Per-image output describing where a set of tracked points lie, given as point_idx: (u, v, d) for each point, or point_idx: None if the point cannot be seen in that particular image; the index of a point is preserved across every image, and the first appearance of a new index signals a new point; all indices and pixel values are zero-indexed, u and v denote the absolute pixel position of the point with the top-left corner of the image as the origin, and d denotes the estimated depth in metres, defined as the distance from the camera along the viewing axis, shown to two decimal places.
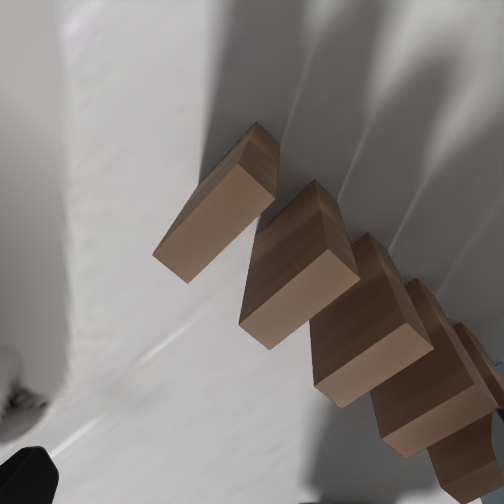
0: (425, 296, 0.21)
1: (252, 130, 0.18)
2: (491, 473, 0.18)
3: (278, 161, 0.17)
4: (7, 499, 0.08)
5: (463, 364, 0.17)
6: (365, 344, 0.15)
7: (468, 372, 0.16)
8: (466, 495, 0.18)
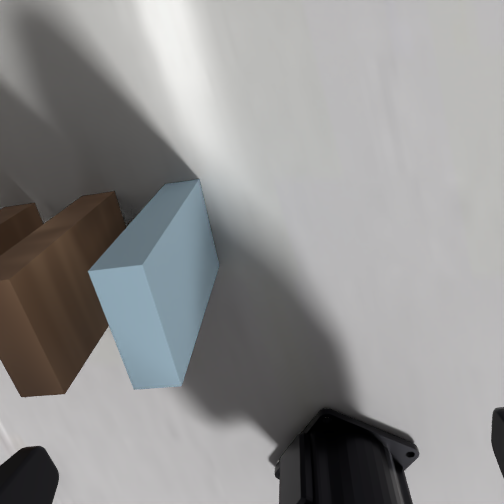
0: None
1: None
2: (11, 346, 0.13)
3: None
4: (7, 499, 0.08)
5: None
6: None
7: None
8: (47, 383, 0.14)
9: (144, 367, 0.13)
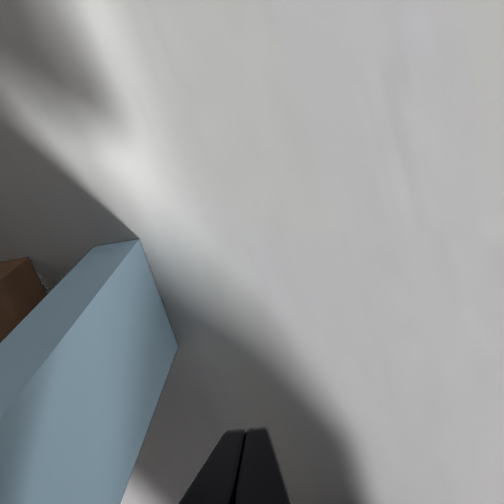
0: None
1: None
2: None
3: None
4: None
5: None
6: None
7: None
8: None
9: None
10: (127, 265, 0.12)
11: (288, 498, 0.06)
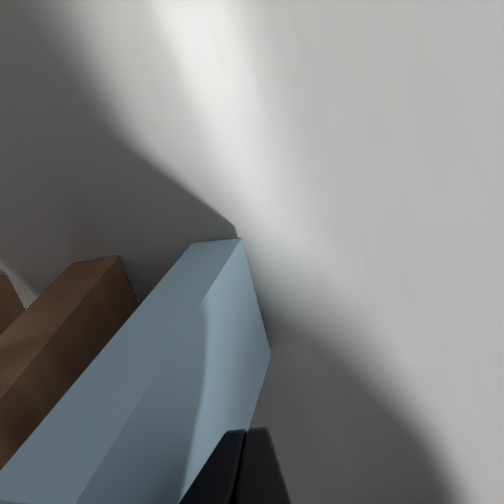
0: None
1: None
2: None
3: None
4: None
5: None
6: None
7: None
8: None
9: None
10: (229, 268, 0.11)
11: (288, 498, 0.06)
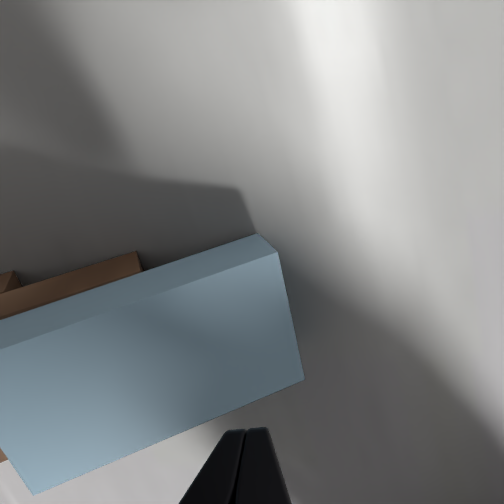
0: None
1: None
2: None
3: None
4: None
5: None
6: None
7: None
8: None
9: None
10: (232, 277, 0.11)
11: (288, 498, 0.06)
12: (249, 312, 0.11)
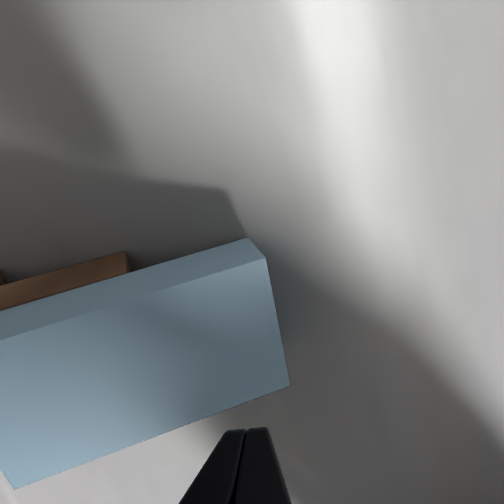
0: None
1: None
2: None
3: None
4: None
5: None
6: None
7: None
8: None
9: None
10: (218, 281, 0.11)
11: (288, 498, 0.06)
12: (235, 317, 0.11)
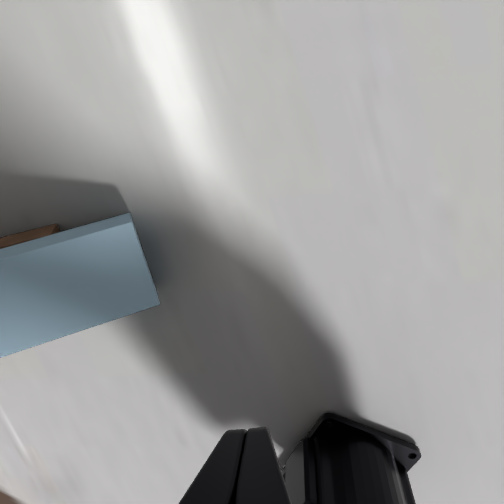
0: None
1: None
2: None
3: None
4: None
5: None
6: None
7: None
8: None
9: None
10: (103, 235, 0.18)
11: (288, 498, 0.06)
12: (117, 258, 0.19)
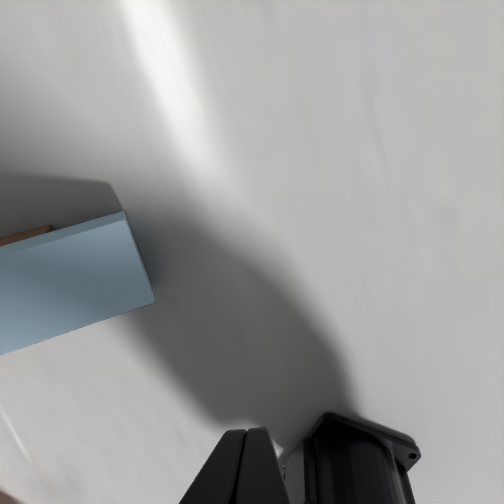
0: None
1: None
2: None
3: None
4: None
5: None
6: None
7: None
8: None
9: None
10: (97, 233, 0.18)
11: (288, 498, 0.06)
12: (111, 255, 0.19)
